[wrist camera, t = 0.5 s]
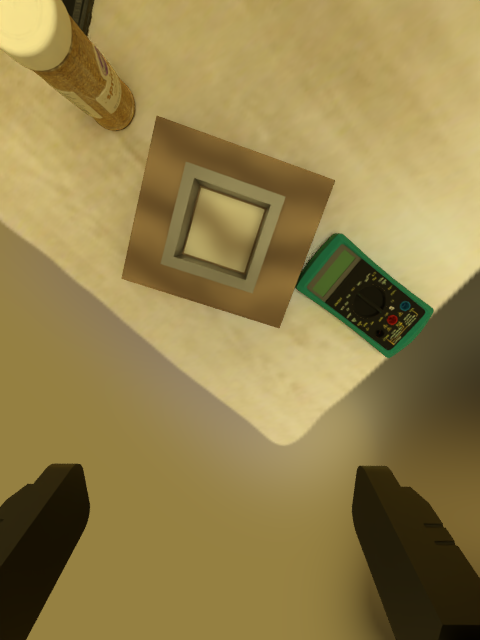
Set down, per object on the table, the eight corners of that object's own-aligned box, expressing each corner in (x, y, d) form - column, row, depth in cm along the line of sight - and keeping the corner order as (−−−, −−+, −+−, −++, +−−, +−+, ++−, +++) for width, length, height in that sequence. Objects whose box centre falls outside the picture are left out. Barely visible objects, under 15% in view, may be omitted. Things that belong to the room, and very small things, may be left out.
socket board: (162, 123, 30) (156, 114, 28) (329, 183, 31) (335, 180, 29) (128, 276, 34) (120, 278, 32) (277, 323, 36) (279, 328, 33)
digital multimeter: (383, 354, 37) (395, 364, 34) (290, 283, 35) (294, 288, 32) (426, 308, 36) (443, 314, 33) (332, 230, 33) (340, 230, 30)
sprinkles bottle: (145, 115, 30) (71, 24, 17) (107, 140, 30) (8, 71, 17) (118, 67, 29) (16, -70, 16) (79, 94, 29) (-48, -16, 16)
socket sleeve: (193, 171, 29) (185, 161, 25) (279, 201, 30) (285, 196, 26) (170, 260, 32) (160, 263, 28) (251, 286, 32) (252, 293, 29)
